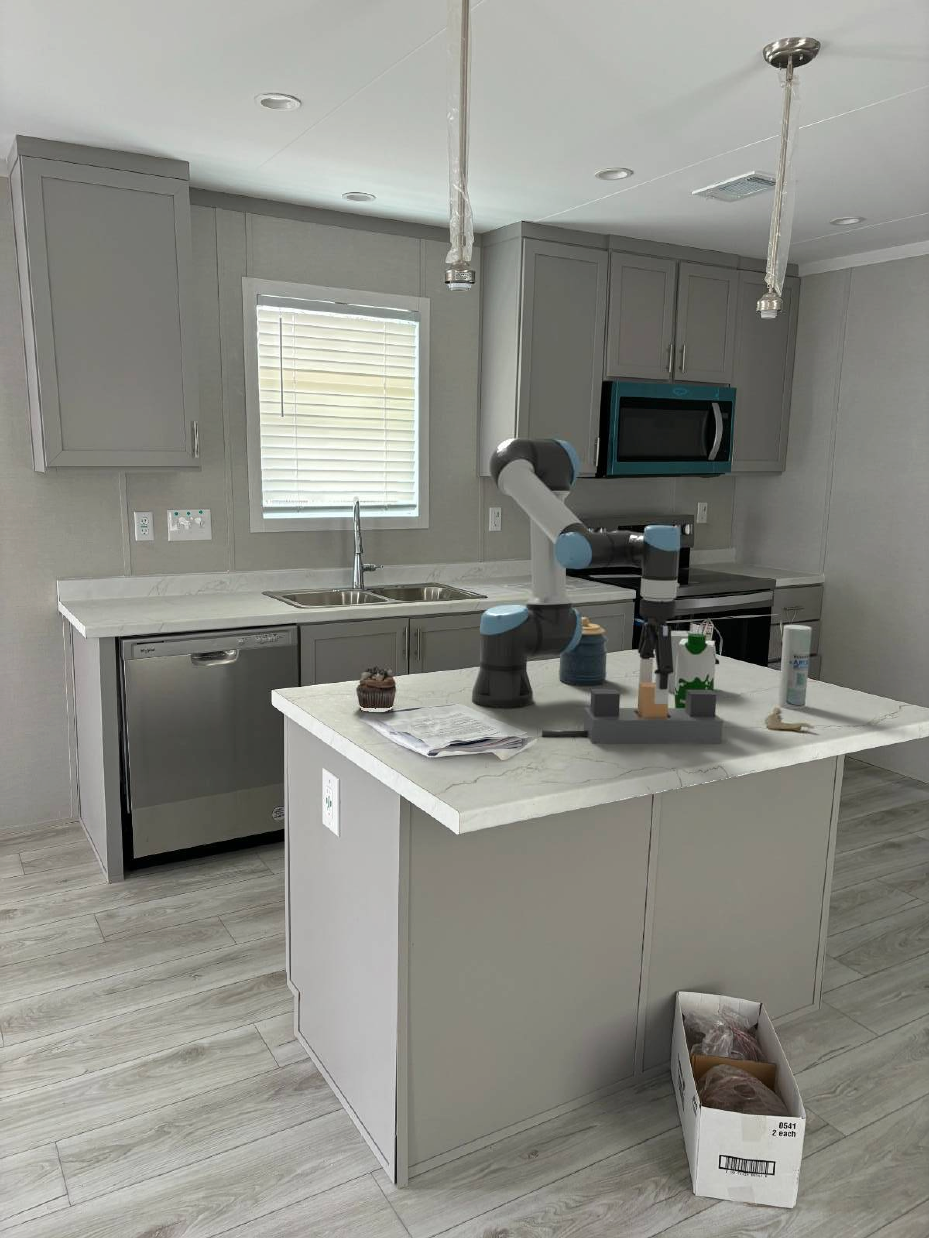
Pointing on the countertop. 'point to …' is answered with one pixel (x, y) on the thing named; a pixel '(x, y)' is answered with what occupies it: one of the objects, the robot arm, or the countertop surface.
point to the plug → (649, 702)
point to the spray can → (794, 666)
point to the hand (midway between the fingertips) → (652, 695)
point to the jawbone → (777, 724)
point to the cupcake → (376, 689)
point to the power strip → (649, 721)
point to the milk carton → (694, 666)
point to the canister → (586, 658)
